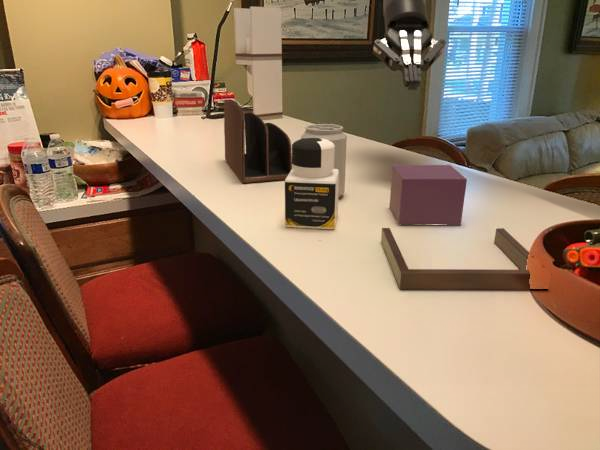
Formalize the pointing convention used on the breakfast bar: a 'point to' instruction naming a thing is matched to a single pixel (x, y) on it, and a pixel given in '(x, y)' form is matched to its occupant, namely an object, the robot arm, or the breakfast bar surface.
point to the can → (338, 139)
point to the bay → (461, 277)
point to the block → (427, 194)
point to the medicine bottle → (312, 185)
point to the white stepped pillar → (261, 57)
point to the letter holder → (255, 146)
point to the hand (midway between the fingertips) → (413, 86)
